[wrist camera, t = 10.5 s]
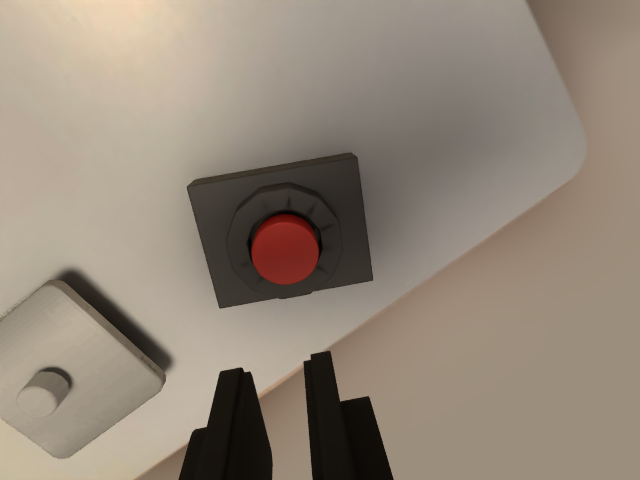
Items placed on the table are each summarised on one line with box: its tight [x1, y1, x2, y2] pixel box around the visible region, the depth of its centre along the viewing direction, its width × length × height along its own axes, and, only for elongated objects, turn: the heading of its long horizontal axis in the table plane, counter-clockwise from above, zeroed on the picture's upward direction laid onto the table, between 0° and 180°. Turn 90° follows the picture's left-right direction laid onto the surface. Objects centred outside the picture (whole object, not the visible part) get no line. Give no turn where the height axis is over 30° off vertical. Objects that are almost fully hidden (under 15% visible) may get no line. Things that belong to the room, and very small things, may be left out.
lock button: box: [252, 214, 319, 285], centre depth 23 cm, size 4×4×2 cm
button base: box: [187, 153, 373, 308], centre depth 25 cm, size 10×8×4 cm
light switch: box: [0, 280, 166, 459], centre depth 26 cm, size 10×10×5 cm
